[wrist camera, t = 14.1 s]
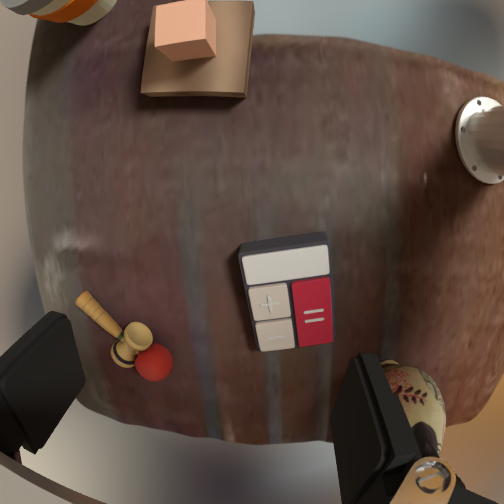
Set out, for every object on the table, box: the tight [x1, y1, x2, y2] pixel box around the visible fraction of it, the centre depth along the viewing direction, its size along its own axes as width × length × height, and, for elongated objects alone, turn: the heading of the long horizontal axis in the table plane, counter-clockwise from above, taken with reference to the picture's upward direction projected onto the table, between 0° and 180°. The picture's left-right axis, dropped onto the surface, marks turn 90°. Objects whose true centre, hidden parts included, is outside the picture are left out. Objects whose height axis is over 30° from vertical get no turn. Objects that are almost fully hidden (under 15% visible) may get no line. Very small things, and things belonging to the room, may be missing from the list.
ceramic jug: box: [380, 337, 466, 489], centre depth 31 cm, size 17×15×30 cm
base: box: [141, 1, 255, 98], centre depth 30 cm, size 12×12×4 cm
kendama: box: [75, 291, 173, 381], centre depth 43 cm, size 8×6×18 cm
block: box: [155, 0, 216, 62], centre depth 26 cm, size 5×5×6 cm
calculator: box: [238, 232, 336, 352], centre depth 40 cm, size 11×4×15 cm
